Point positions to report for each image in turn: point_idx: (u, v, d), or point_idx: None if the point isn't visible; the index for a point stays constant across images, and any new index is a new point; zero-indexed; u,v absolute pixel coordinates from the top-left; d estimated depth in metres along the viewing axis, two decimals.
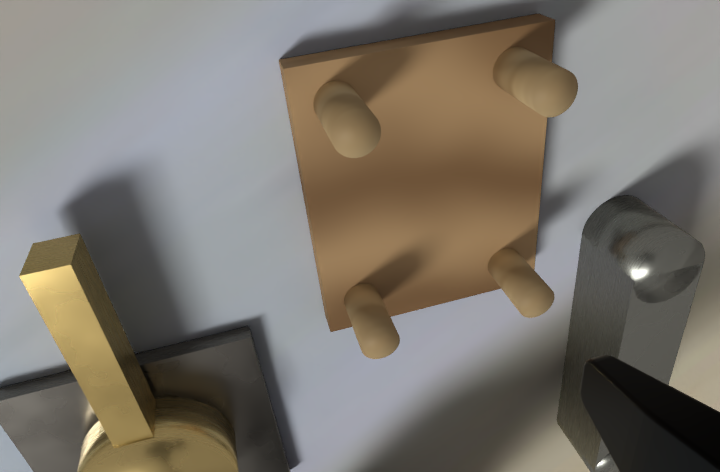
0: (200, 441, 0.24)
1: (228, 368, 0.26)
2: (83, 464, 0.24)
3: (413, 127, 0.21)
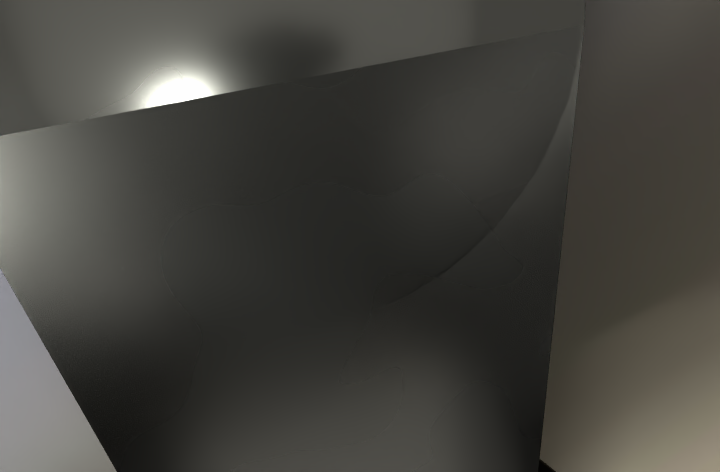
0: None
1: None
2: None
3: None
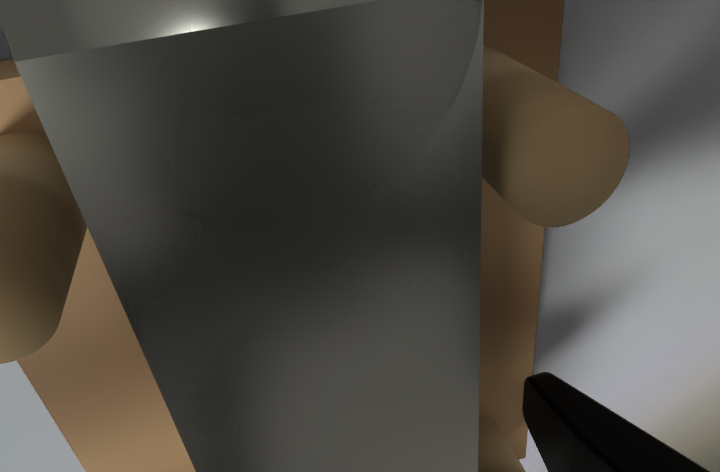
0: None
1: None
2: None
3: None
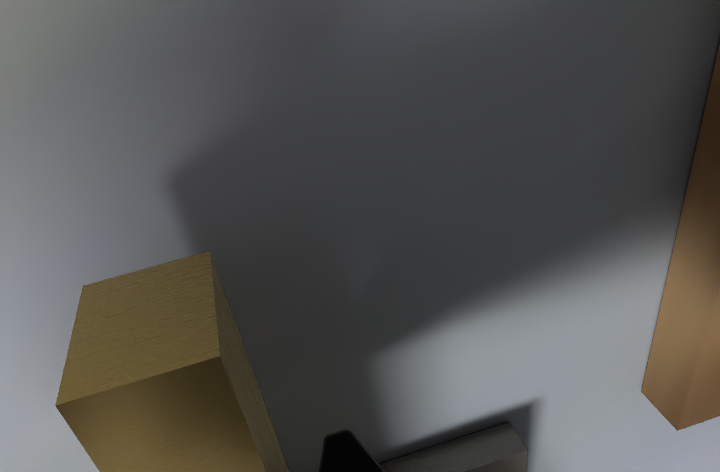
0: None
1: None
2: None
3: None
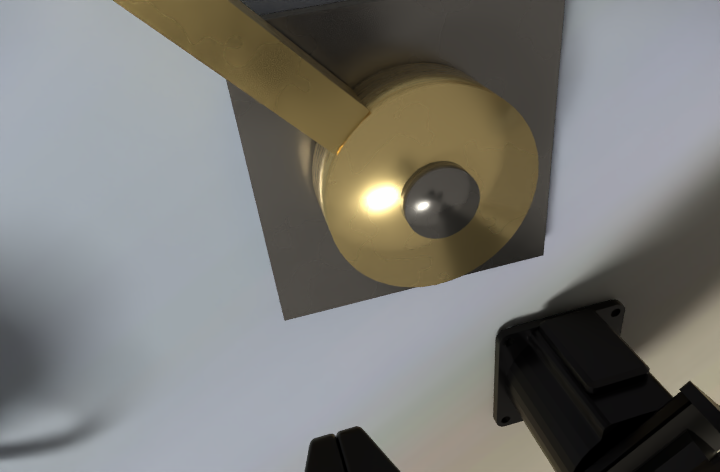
0: (433, 84, 0.16)
1: (526, 24, 0.18)
2: (323, 206, 0.18)
3: None
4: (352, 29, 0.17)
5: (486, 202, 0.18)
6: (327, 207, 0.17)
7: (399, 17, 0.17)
